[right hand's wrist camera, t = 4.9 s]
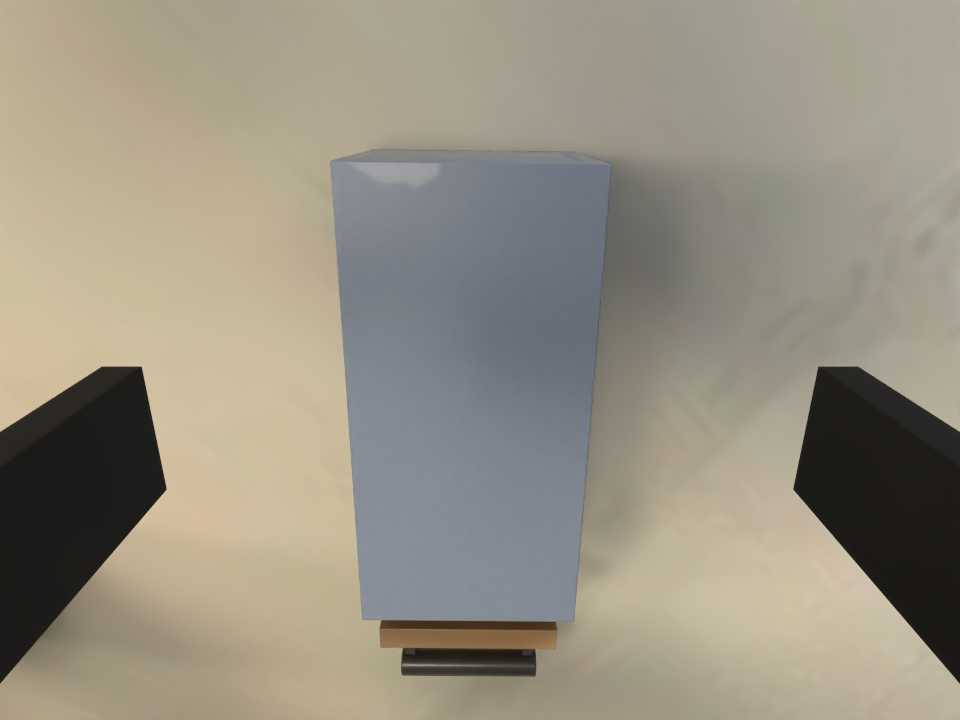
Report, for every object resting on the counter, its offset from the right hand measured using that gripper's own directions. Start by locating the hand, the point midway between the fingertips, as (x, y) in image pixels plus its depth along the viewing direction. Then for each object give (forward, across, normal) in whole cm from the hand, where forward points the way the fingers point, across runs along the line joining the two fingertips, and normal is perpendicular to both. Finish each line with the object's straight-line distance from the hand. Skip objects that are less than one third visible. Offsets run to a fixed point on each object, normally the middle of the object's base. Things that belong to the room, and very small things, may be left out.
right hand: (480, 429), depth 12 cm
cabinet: (+21, 0, -6) cm, 22 cm away
